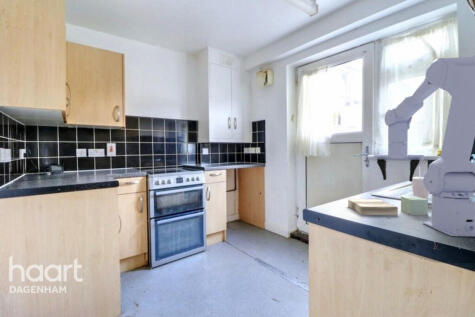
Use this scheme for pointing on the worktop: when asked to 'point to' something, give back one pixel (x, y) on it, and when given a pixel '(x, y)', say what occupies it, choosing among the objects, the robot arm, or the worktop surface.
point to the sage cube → (414, 205)
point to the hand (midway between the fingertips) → (397, 180)
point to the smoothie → (419, 186)
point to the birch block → (372, 207)
